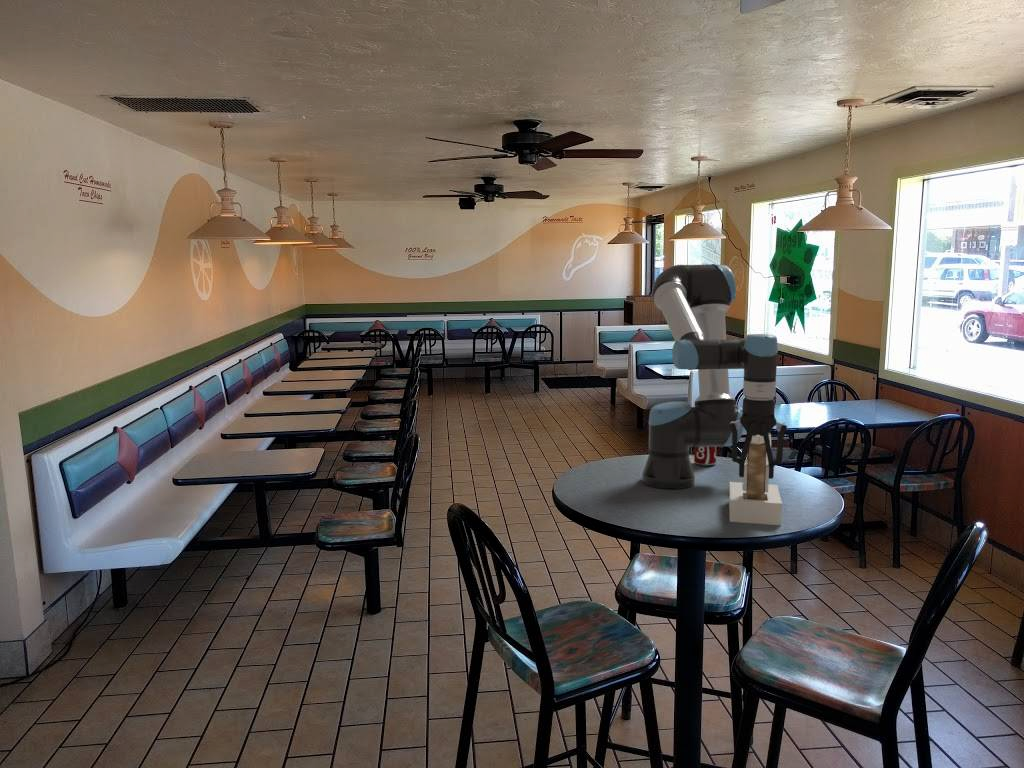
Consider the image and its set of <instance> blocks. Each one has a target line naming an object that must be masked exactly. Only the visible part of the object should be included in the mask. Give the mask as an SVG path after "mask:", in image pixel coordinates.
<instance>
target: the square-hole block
mask: <svg viewBox="0 0 1024 768" xmlns="http://www.w3.org/2000/svg"><path fill="white" fill-rule="evenodd" d="M728 496H729V497H728V509H729V511H728V512H729V522H730V523H743V524H757V525H767V526H768V525H771V526H782V515H783V514H782V513H783V502H782V498H781V494H780V490H779V487H778V484H770V483H768V493H766V492H765V498H764V500H748V499H746V491H743V482H738V481H736V482H735V481H729V493H728Z"/></svg>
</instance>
